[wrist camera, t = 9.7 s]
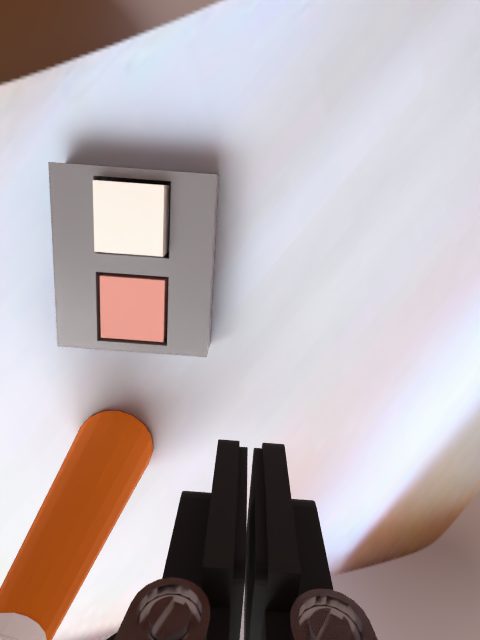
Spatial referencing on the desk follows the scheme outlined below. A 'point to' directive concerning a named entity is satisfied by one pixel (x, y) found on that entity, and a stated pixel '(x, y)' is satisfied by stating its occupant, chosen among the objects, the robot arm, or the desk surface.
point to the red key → (134, 306)
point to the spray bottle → (73, 524)
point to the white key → (131, 218)
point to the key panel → (133, 259)
